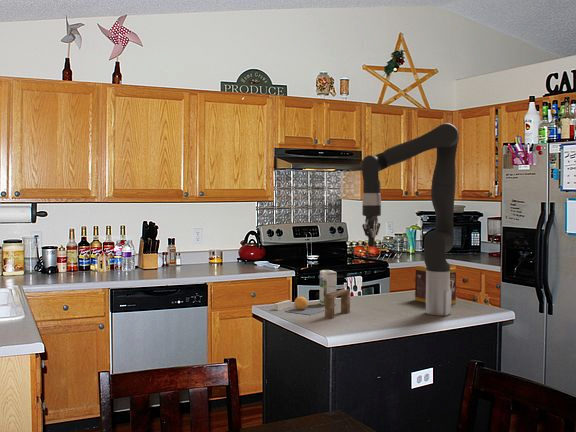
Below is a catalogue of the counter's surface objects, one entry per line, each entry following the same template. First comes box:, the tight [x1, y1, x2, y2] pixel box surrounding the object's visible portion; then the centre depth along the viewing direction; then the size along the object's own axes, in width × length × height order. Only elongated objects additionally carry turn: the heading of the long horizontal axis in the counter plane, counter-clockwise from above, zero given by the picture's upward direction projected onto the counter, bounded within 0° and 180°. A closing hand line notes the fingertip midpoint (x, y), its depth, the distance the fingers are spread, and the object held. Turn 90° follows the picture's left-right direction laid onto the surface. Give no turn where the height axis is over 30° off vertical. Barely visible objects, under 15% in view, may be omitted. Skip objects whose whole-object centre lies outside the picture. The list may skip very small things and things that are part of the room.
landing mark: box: [284, 306, 325, 316], centre depth 250 cm, size 12×12×1 cm
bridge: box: [324, 288, 351, 320], centre depth 241 cm, size 3×14×9 cm, turn 146°
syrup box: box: [318, 269, 338, 307], centre depth 264 cm, size 6×6×14 cm
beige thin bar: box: [273, 299, 293, 311], centre depth 256 cm, size 2×10×2 cm, turn 146°
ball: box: [293, 296, 309, 310], centre depth 252 cm, size 6×6×6 cm
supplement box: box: [414, 264, 457, 305], centre depth 271 cm, size 10×15×16 cm
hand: (371, 246), depth 253 cm, fingers closed
